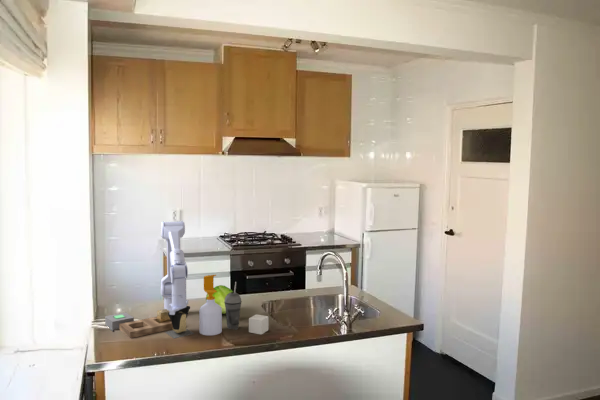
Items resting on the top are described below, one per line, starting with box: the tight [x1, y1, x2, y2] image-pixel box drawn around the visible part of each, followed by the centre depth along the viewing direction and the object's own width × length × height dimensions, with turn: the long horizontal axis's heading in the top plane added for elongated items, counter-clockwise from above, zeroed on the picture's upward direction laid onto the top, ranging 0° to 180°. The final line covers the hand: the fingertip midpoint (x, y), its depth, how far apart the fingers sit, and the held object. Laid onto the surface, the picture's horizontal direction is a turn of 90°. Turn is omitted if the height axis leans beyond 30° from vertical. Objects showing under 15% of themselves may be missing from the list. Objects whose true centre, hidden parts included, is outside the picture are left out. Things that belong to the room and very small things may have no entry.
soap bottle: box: [198, 274, 223, 336], centre depth 209 cm, size 9×9×25 cm
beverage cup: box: [224, 281, 243, 331], centre depth 215 cm, size 7×7×20 cm
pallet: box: [119, 316, 173, 339], centre depth 213 cm, size 22×12×3 cm, turn 129°
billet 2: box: [172, 312, 187, 333], centre depth 208 cm, size 4×4×7 cm
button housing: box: [104, 311, 135, 332], centre depth 217 cm, size 9×9×4 cm
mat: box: [164, 328, 195, 339], centre depth 208 cm, size 9×9×1 cm
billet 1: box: [156, 308, 170, 324], centre depth 216 cm, size 4×4×7 cm
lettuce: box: [205, 284, 234, 315], centre depth 234 cm, size 14×20×12 cm
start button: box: [114, 315, 125, 319], centre depth 217 cm, size 4×4×3 cm
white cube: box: [248, 313, 269, 335], centre depth 213 cm, size 6×6×6 cm
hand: (179, 326), depth 208 cm, fingers closed on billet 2, 6 cm apart
